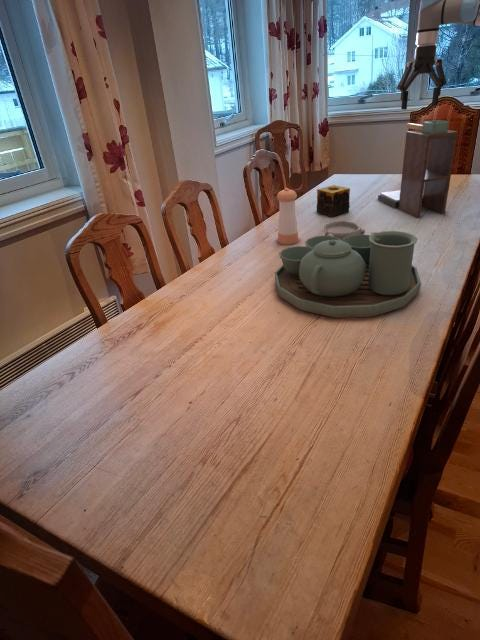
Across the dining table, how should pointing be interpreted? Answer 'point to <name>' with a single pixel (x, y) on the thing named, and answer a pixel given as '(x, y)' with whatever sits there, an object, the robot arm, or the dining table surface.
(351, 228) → the dish
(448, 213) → the dining table surface
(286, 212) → the pepper shaker
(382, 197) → the whiteboard
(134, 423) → the dining table surface
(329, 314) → the tea set
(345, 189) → the candle
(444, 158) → the shelf
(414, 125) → the scoop
